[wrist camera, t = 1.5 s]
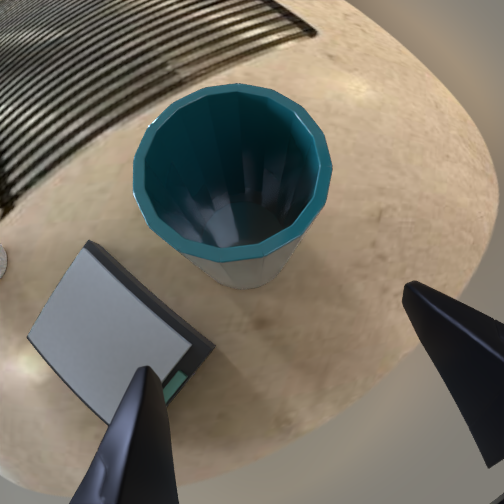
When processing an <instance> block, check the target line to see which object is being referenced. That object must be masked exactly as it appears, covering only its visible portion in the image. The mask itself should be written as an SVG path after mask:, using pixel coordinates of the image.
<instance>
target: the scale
mask: <svg viewBox="0 0 504 504" xmlns="http://www.w3.org/2000/svg"><path fill="white" fill-rule="evenodd" d="M27 339H28V340H29V341H30V343H31V344H32V345H33V347H34V348H35V349H36V350H37V352H38V353H39V354H40V355H41V356H42V358H43V359H44V360H45V361H46V362H47V364H48V365H49V366H50V367H51V368H52V369H53V371H54V372H55V373H56V374H57V375H58V376H59V377H60V378H61V380H62V381H63V382H64V383H65V384H66V385H67V386H68V387H69V388H70V389H71V390H72V391H73V392H74V393H75V394H76V395H77V397H78V398H79V399H80V400H81V401H82V402H83V403H84V404H85V405H86V406H87V407H88V408H90V409H91V410H92V411H93V412H94V413H95V414H96V415H97V416H98V417H99V418H100V419H101V420H102V421H103V422H104V423H106V424H107V425H108V426H109V424H110V422H111V420H112V418H113V416H114V414H115V412H116V410H117V408H118V406H119V403H120V401H121V399H122V397H123V395H124V393H125V391H126V389H127V387H128V385H129V383H130V381H131V379H132V377H133V375H134V373H135V371H136V369H137V368H138V367H141V366H146V365H149V366H150V367H151V368H152V369H153V370H154V372H155V373H156V374H157V375H158V377H159V378H160V380H161V383H162V388H163V394H164V399H165V404H166V407H167V406H168V405H169V404H170V402H171V401H172V400H173V399H174V398H175V396H176V395H177V394H178V393H179V392H180V390H181V389H182V388H183V387H184V385H185V384H186V383H187V382H188V380H189V379H190V378H191V377H192V376H193V374H194V373H195V372H196V371H197V369H198V368H199V367H200V366H201V364H202V363H203V362H204V361H205V359H206V358H207V357H208V356H209V354H210V353H211V352H212V351H213V349H214V348H215V347H216V345H214V344H213V343H212V342H211V341H209V340H208V339H207V338H206V337H204V336H203V335H202V334H200V333H199V332H198V331H197V330H196V329H194V328H193V327H192V326H191V325H189V324H188V323H187V322H186V321H184V320H183V319H182V318H181V317H180V316H178V315H177V314H176V313H175V312H174V311H173V310H171V309H170V308H169V307H168V306H167V305H165V304H164V303H163V302H162V301H161V300H160V299H158V298H157V297H156V296H155V295H154V294H153V293H152V292H150V291H149V290H148V289H147V288H146V287H145V286H144V285H143V284H141V283H140V282H139V281H138V280H137V279H136V278H135V277H134V276H133V275H131V274H130V273H129V272H128V271H127V270H126V269H125V268H124V267H123V266H122V265H121V264H120V263H119V262H117V261H116V260H115V259H114V258H113V257H112V256H111V255H110V254H109V253H108V252H107V251H106V250H105V249H104V248H103V247H102V246H101V245H99V244H97V243H95V242H93V241H90V240H88V241H87V242H86V244H85V245H84V247H83V248H82V249H81V251H80V252H79V254H78V255H77V257H76V258H75V259H74V261H73V262H72V264H71V265H70V267H69V268H68V270H67V271H66V273H65V274H64V276H63V277H62V279H61V280H60V282H59V284H58V285H57V287H56V288H55V290H54V291H53V293H52V295H51V296H50V298H49V299H48V301H47V303H46V304H45V306H44V308H43V309H42V311H41V313H40V315H39V316H38V318H37V320H36V321H35V323H34V325H33V327H32V328H31V330H30V332H29V334H28V336H27Z"/></svg>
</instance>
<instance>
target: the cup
mask: <svg viewBox="0 0 504 504" xmlns="http://www.w3.org/2000/svg"><path fill="white" fill-rule="evenodd" d="M331 175H332V162H331V158H330V154H329V150H328V146H327V143H326V139H325V135H324V134H323V132H322V130H321V129H320V128H319V126H318V125H317V124H316V123H315V121H314V120H313V119H312V118H311V116H310V115H309V114H308V113H307V111H306V110H305V109H304V108H303V107H302V106H301V105H299V104H297V103H296V102H294V101H292V100H290V99H289V98H287V97H285V96H284V95H282V94H280V93H278V92H276V91H275V90H272V89H268V88H263V87H258V86H252V85H247V84H241V83H239V84H238V83H235V84H227V85H219V86H212V87H205V88H202V89H200V90H198V91H196V92H194V93H191V94H189V95H187V96H185V97H183V98H181V99H179V100H177V101H175V102H173V104H171V105H170V106H168V107H167V108H166V109H165V110H164V111H163V112H162V113H161V114H160V115H159V116H158V117H157V118H156V119H155V120H154V121H153V122H152V123H151V124H150V125H149V126H148V128H147V130H146V132H145V134H144V136H143V138H142V140H141V143H140V145H139V147H138V149H137V152H136V154H135V156H134V160H133V194H134V197H135V200H136V202H137V204H138V206H139V208H140V211H141V213H142V215H143V217H144V219H145V221H146V223H147V225H148V226H149V228H150V229H151V230H152V231H154V232H155V233H156V234H157V235H159V236H160V237H161V238H162V239H163V240H165V241H166V242H167V243H168V244H169V245H171V246H172V247H173V248H174V249H176V250H177V251H178V252H179V253H181V254H182V255H183V256H184V257H186V258H187V259H188V260H189V261H191V262H192V263H193V264H195V265H196V266H197V267H198V268H200V269H201V270H202V271H204V272H205V273H206V274H208V275H209V276H210V277H211V278H213V279H214V280H215V281H217V282H218V283H219V284H221V285H224V286H227V287H230V288H234V289H238V290H239V289H240V290H242V289H252V288H257V287H260V286H262V285H264V284H266V283H268V282H269V281H271V280H272V279H274V278H275V277H276V276H277V275H278V274H279V272H280V271H281V270H282V268H283V267H284V266H285V264H286V263H287V262H288V260H289V259H290V257H291V256H292V254H293V253H294V251H295V250H296V248H297V247H298V245H299V244H300V242H301V241H302V239H303V238H304V236H305V235H306V233H307V232H308V230H309V228H310V227H311V225H312V224H313V222H314V221H315V219H316V218H317V216H318V215H319V213H320V212H321V210H322V209H323V207H324V205H325V203H326V200H327V195H328V190H329V185H330V180H331Z"/></svg>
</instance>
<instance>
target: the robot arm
mask: <svg viewBox="0 0 504 504" xmlns="http://www.w3.org/2000/svg"><path fill="white" fill-rule="evenodd" d="M402 304H403V307H404V309H405V311H406V313H407V315H408V317H409V319H410V321H411V323H412V325H413V327H414V329H415V331H416V334H417V336H418V338H419V340H420V341H421V343H422V345H423V346H424V348H425V350H426V351H427V353H428V355H429V356H430V358H431V360H432V362H433V363H434V365H435V367H436V368H437V370H438V372H439V373H440V375H441V377H442V379H443V380H444V382H445V384H446V386H447V388H448V389H449V391H450V393H451V395H452V397H453V399H454V400H455V402H456V404H457V406H458V408H459V410H460V412H461V414H462V416H463V417H464V419H465V421H466V423H467V425H468V426H469V430H470V431H471V434H472V436H473V438H474V440H475V442H476V444H477V446H478V448H479V450H480V452H481V454H482V456H483V459H484V461H485V463H486V465H487V467H488V468H491V467H492V466H494V465H495V464H497V463H498V462H500V461H501V460H503V459H504V324H503V323H501V322H499V321H497V320H494V319H493V318H491V317H489V316H487V315H485V314H483V313H482V312H479V311H477V310H475V309H474V308H472V307H470V306H467V305H466V304H464V303H461V302H459V301H457V300H455V299H453V298H451V297H449V296H447V295H445V294H443V293H441V292H439V291H437V290H435V289H433V288H431V287H429V286H426V285H424V284H422V283H420V282H418V281H411V282H409V283H406V284H405V286H404V291H403V297H402ZM69 504H179V501H178V494H177V487H176V480H175V472H174V464H173V455H172V446H171V436H170V426H169V419H168V414H167V409H166V404H165V399H164V394H163V388H162V383H161V380H160V378H159V377H158V375H157V374H156V373H155V372H154V370H153V369H152V368H151V367H150V366H149V365H146V366H141V367H138V368H137V369H136V371H135V373H134V375H133V377H132V379H131V381H130V383H129V385H128V387H127V389H126V391H125V393H124V395H123V397H122V399H121V401H120V403H119V406H118V408H117V410H116V412H115V414H114V416H113V418H112V420H111V422H110V424H109V426H108V428H107V431H106V433H105V435H104V437H103V439H102V441H101V443H100V446H99V448H98V451H97V452H96V454H95V456H94V459H93V461H92V463H91V465H90V467H89V469H88V471H87V473H86V475H85V477H84V478H83V480H82V482H81V484H80V486H79V487H78V489H77V491H76V492H75V494H74V496H73V498H72V499H71V501H70V503H69ZM490 504H504V493H503V494H502V495H500V496H499V497H498V498H497V499H495V500H494V501H493V502H491V503H490Z"/></svg>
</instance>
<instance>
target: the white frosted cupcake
mask: <svg viewBox="0 0 504 504" xmlns="http://www.w3.org/2000/svg"><path fill="white" fill-rule="evenodd" d="M6 265H7V254H6V252H5V250H4V248H3V247H2V245H1V243H0V278H1V277H2V276H3V274H4V273H5V271H6V268H7V267H6Z"/></svg>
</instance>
